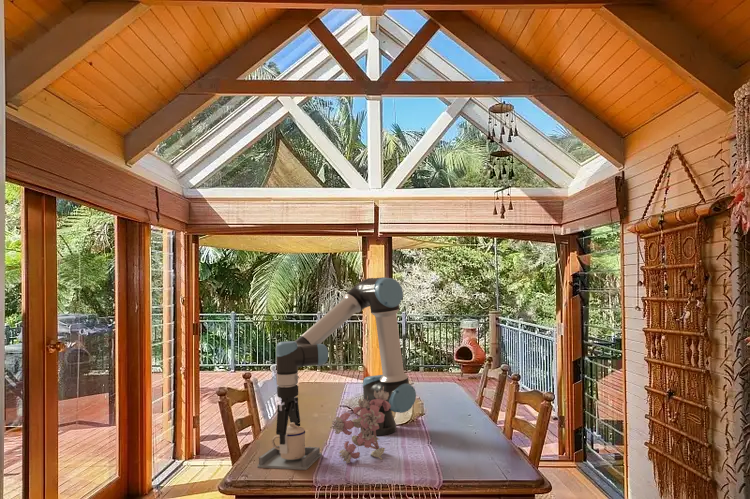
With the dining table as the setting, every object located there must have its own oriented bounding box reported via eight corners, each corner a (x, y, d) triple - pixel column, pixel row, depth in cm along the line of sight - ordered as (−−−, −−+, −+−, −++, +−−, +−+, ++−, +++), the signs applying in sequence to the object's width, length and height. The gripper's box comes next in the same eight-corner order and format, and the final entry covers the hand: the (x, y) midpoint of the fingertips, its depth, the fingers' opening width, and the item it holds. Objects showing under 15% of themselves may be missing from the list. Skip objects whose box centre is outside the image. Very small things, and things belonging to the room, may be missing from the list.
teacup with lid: (308, 452, 205) (307, 419, 206) (303, 460, 196) (302, 426, 196) (275, 452, 206) (274, 420, 206) (269, 460, 197) (268, 426, 197)
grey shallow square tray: (321, 455, 207) (321, 446, 208) (306, 469, 192) (305, 460, 192) (276, 453, 212) (276, 444, 212) (257, 467, 196) (257, 458, 196)
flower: (338, 442, 217) (327, 389, 208) (396, 435, 217) (387, 381, 207) (336, 482, 199) (324, 426, 189) (399, 474, 198) (390, 418, 189)
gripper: (285, 391, 191) (287, 459, 190) (308, 379, 212) (309, 440, 211) (264, 391, 193) (266, 458, 191) (289, 379, 214) (291, 439, 213)
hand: (289, 448), depth 201 cm, fingers closed on teacup with lid, 9 cm apart
